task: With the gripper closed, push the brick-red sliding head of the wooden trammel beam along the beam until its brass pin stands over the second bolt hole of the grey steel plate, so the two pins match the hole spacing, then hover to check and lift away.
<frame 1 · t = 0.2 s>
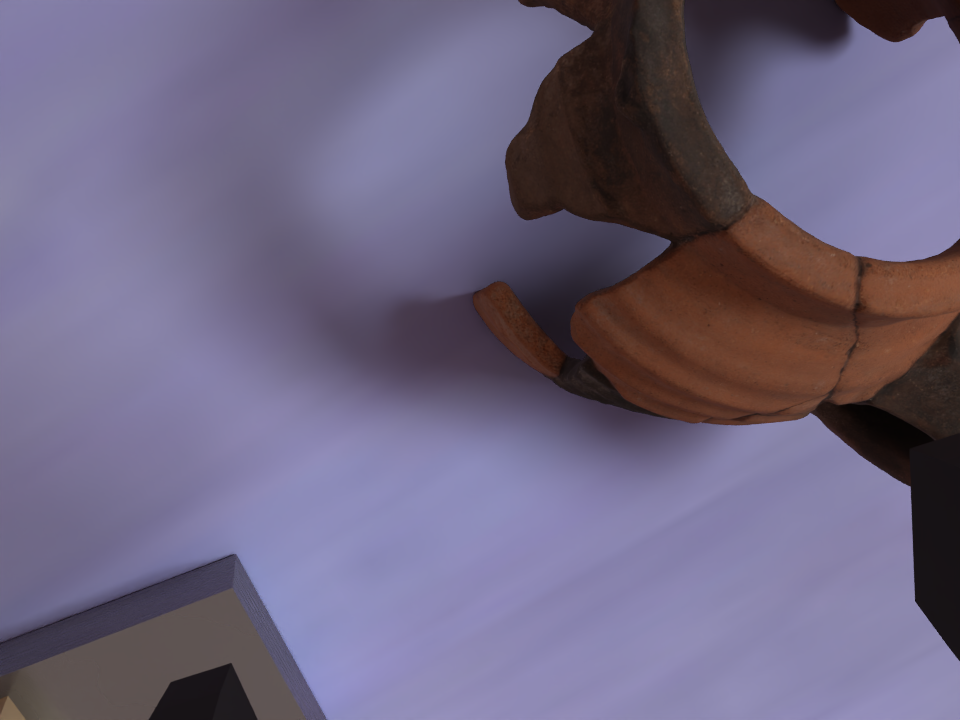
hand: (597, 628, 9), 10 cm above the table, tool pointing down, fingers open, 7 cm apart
pottery mug: (696, 192, 19), on the table
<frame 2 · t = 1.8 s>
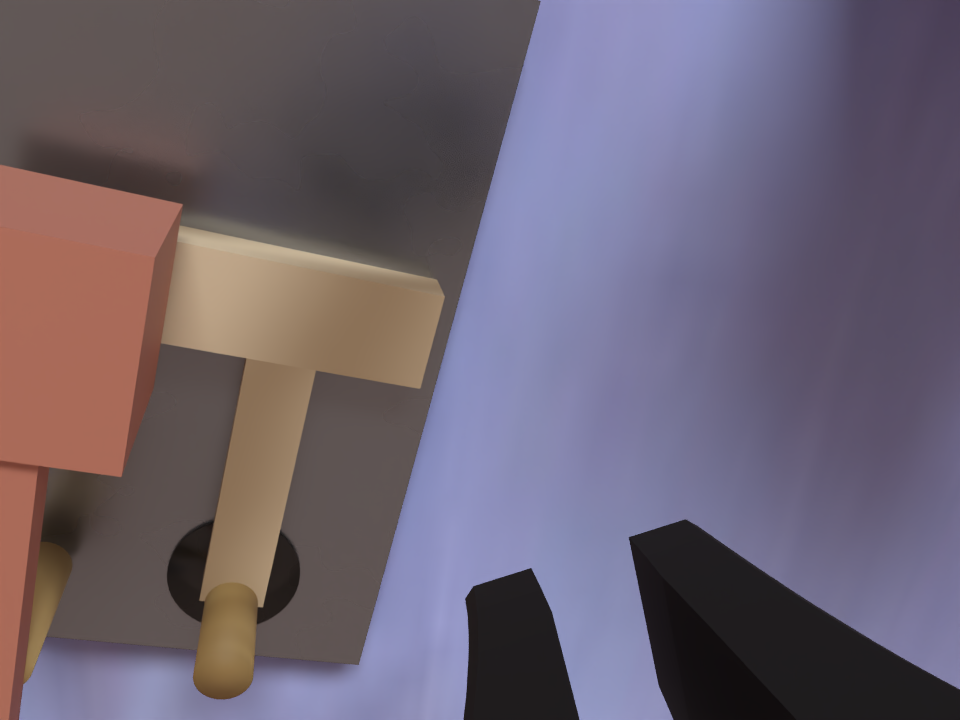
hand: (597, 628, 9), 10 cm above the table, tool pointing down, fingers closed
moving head: (31, 483, 14), point 4 cm above the table, slide at 0.0 cm
beam: (41, 227, 16), resting on bolt plate
bolt plate: (36, 279, 17), on the table
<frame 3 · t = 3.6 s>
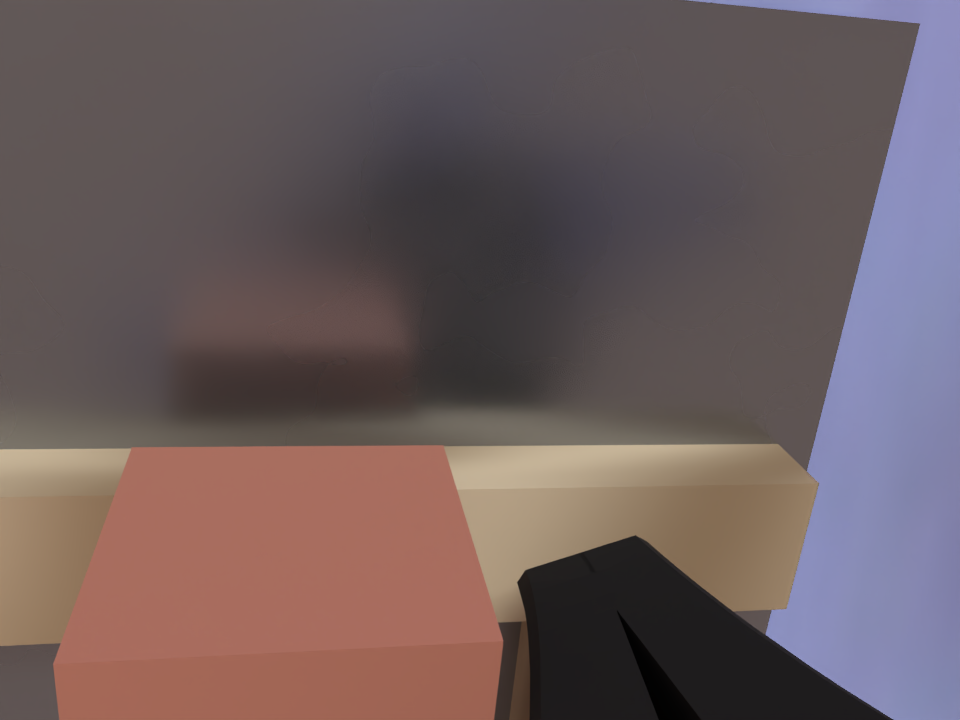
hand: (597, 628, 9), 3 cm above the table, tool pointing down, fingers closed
beam: (219, 466, 12), resting on bolt plate
bolt plate: (221, 532, 12), on the table
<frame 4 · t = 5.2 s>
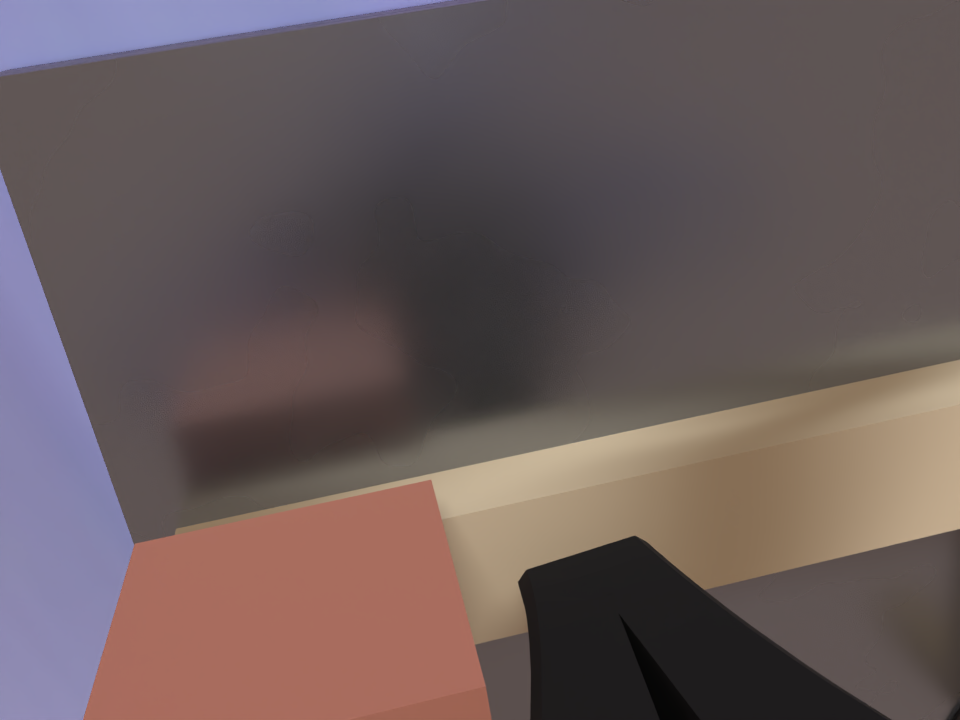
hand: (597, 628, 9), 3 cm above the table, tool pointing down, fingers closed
beam: (708, 425, 13), resting on bolt plate
bolt plate: (710, 486, 13), on the table
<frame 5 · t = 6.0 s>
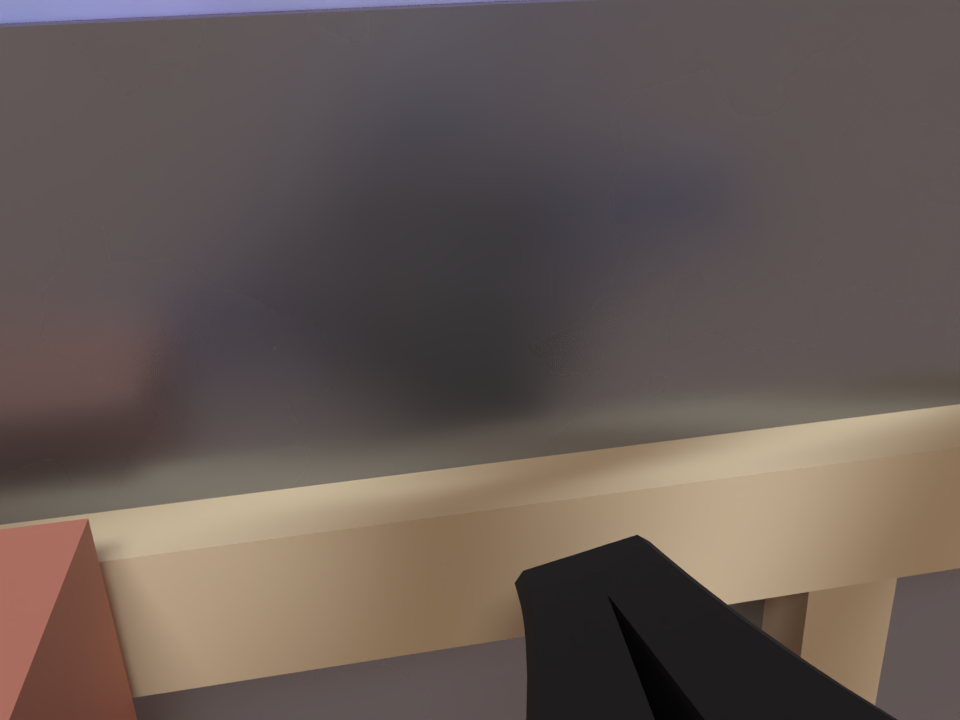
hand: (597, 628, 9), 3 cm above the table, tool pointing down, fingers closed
beam: (465, 479, 12), resting on bolt plate
bolt plate: (469, 541, 13), on the table
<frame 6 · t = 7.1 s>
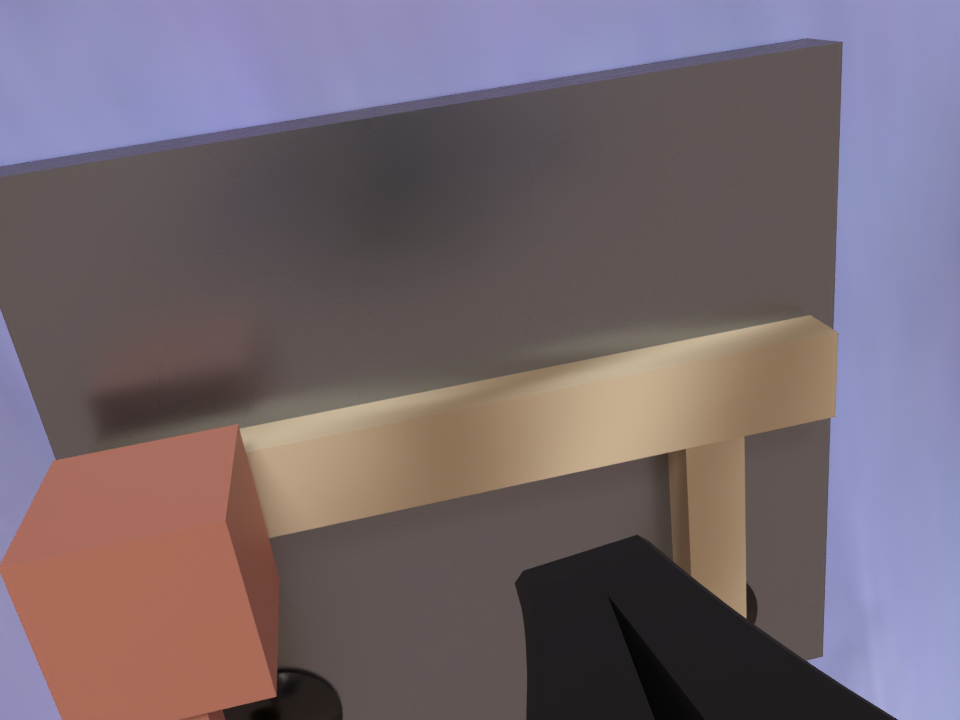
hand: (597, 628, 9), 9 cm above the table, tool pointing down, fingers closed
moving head: (211, 702, 16), point 4 cm above the table, slide at 6.6 cm
beam: (462, 399, 18), resting on bolt plate
bolt plate: (468, 441, 19), on the table
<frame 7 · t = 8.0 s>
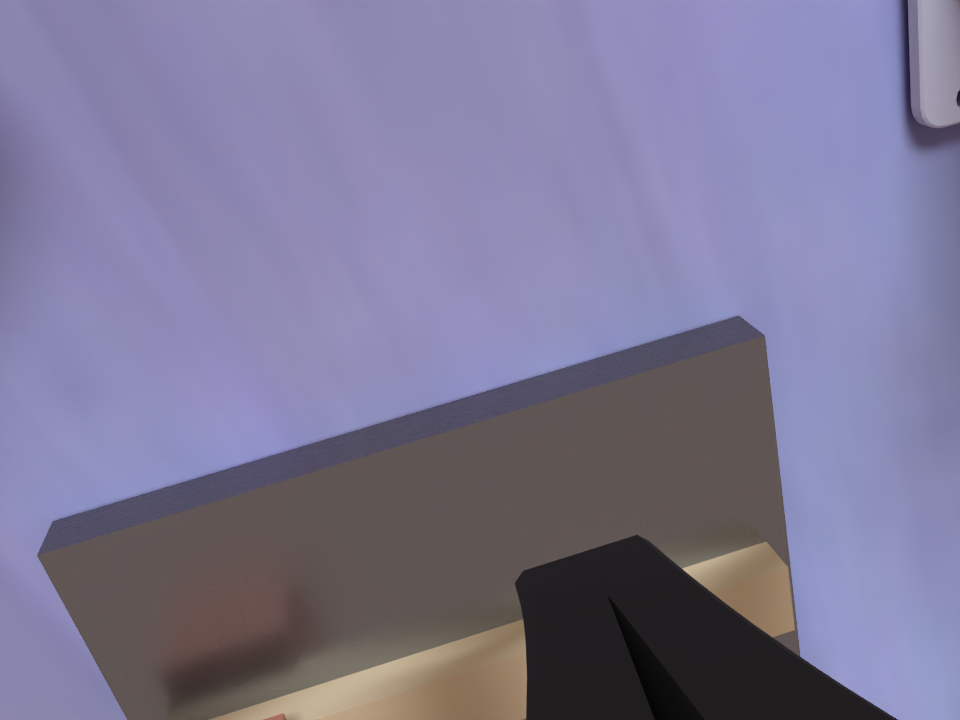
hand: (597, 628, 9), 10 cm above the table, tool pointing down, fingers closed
beam: (472, 630, 21), resting on bolt plate
bolt plate: (481, 662, 22), on the table
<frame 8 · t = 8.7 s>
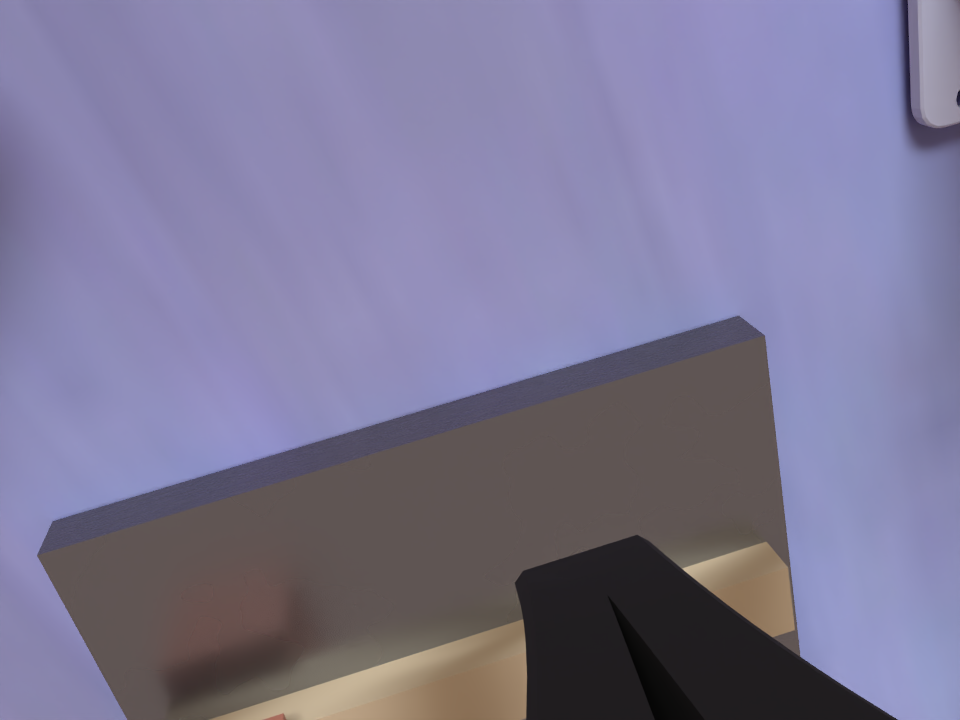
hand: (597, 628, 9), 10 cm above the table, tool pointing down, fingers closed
beam: (472, 630, 21), resting on bolt plate
bolt plate: (481, 662, 22), on the table
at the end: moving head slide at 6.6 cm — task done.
